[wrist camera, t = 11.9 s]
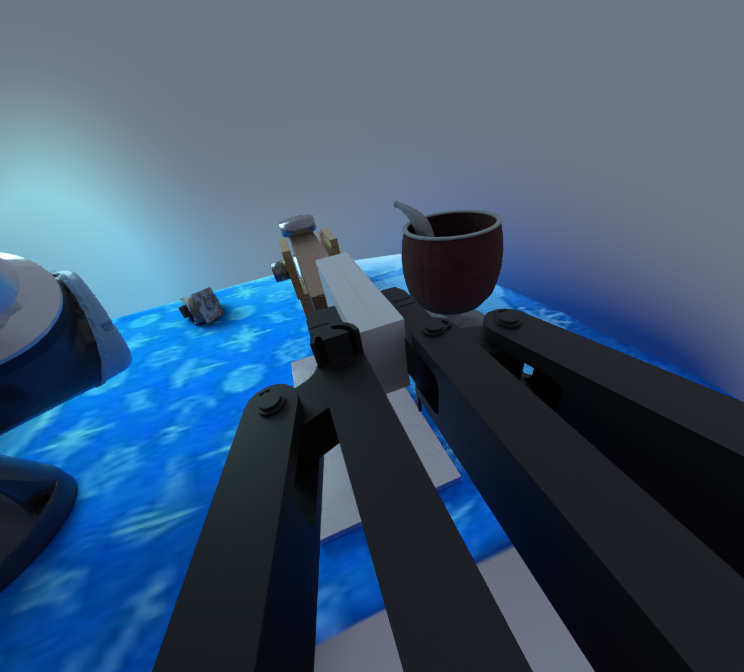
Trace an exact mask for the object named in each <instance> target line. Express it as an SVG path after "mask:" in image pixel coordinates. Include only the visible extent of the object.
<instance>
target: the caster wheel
mask: <svg viewBox="0 0 744 672" xmlns="http://www.w3.org/2000/svg"><path fill="white" fill-rule="evenodd" d="M180 300H181V301H182V302H184V303H185V304H186V305H183V306H181V307H179V310H180V312H181V313H182V315H183V317H184V318H188V317H191V316H193V318H194V324H198V323H201V322H204V321H206V322H207V323H210V322H212V321H213V320H215V319H217V318H218V317H220V316H222V315H223V314H224V311H223V309H222V308H221V306H220V303H219V300H218V298H217V297H216V295H214V293H213V291H212V289H211V288H210V287H209V288H207V289H204V290H202V291H199V292H197V293H194V294H192V295H191V296H188V297H184V298H181V299H180Z"/></svg>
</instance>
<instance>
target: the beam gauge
mask: <svg viewBox="0 0 744 672" xmlns="http://www.w3.org/2000/svg"><path fill="white" fill-rule="evenodd" d="M279 227H280V230H281V233H282V236H283V237H289V239H290V242H291V244H292V248H293V251H294V255H293V259H294V262H295V265H296V269H297V272H298V275H299V278H300V277H303V279H304V282H305V285H306V288H307V291H308V293H309V296H310V299H311V302H312V305H313V308H314V310H315V311H317V310H321V309H324V308H327V307H328V305H327V301H326V298H325V294H324V290H323V287H322V283H321V279H320V276H319V272H318V268H317V265H316V261H315V260H318V259H322V258H326V257H330V256H329V254H328V253H327V252H326V250H325V249H324V247H323V246H322V244H321V243H320V242H319V240H318V239H317V237H316V236H315V235H314V233H313V231H314V230H315V229H316V225H315V222H314V218H313V216H312V215H301V216H296V217H292V218H288V219H285V220H283V221H281V222H279ZM291 366H292V373H293V379H294V386H295V388H296V387H297V386H299V385H300V384H302V383H303V382H305V381H306V380H308V379H309V378H310V377H311V376H312V375H313V373H314V372H315V370H316V367H317V363H316V360H315V357H314V355H313V356H310V357H307V358H304V359H301V360H298V361H295V362H292V363H291ZM386 395H387V397H388V399H389V401H390V403H391V405H392V407H393V409H394V410H395V412H396V414H397V416H398V418H399V420H400V422H401V424H402V426H403V427H404V429H405V431H406V433H407V435H408V437H409V439H410V441H411V443H412V444H413V446H414V448H415V450H416V452H417V454H418V456H419V458H420V460H421V461H422V463H423V465H424V467H425V469H426V471H427V473H428V475H429V477H430V479H431V480H432V482H433V484H434V486H435V488H436V490H437V492H439V491H441V490H443V489H445V488H448V487H450V486H452V485H454V484H456V483H459V482H461V475H460V474H459V472H458V470H457V469H456V467H455V466H454V464H453V462H452V461H451V459H450V458H449V456H448V455H447V453H446V451H445V450H444V448H443V447H442V445H441V443H440V442H439V440H438V439H437V437H436V436H435V434H434V432H433V431H432V429H431V428H430V426H429V424H428V423H427V421H426V420H425V418H424V416H423V415H422V413H421V412H419V411H418V408H417V405H416V404H415V402H414V401H413V399H412V397H411V396H410V394H409V393H408V391H407V389H406V388H405V387H404V388H402V389H399V390H396V391H393V392H391V393H388V394H386ZM362 526H363V525H362V522H361V518H360V515H359V511H358V508H357V504H356V500H355V497H354V493H353V490H352V486H351V483H350V479H349V476H348V472H347V468H346V465H345V461H344V458H343V454H342V451H341V447H340V443H339V444H338V445H336V446H335V447H334V448H333V449H331V450H330V451H329V452H327V453H326V454H325V455H324V473H323V493H322V513H321V534H320V545H323V544H325V543H327V542H329V541H332V540H334V539H336V538H338V537H340V536H343V535H345V534H347V533H349V532H351V531H354V530H356V529H358V528H360V527H362Z"/></svg>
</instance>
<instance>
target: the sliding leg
mask: <svg viewBox="0 0 744 672" xmlns="http://www.w3.org/2000/svg"><path fill="white" fill-rule="evenodd" d="M321 233H322V237H323V241H324V245H325V249H326V252H327V253H328V254H329V256H334V255H338V254H340V250H339V245H338V242H337V238H336V237H335V236H334V235H333V234H332V233H331V232H330V230H328V228H325V229H321ZM279 243H280V248H281V252H282V255H283V258H284V260H282V261H278V262H274V263H271V267H272V271H273V274H274V276H275V279H276V281H277V282H281V281H284V280H288V279H291V281H292V284H293V286H294V289H295V292H296V295H297V298H298V300H299V299H300V301H301V304H302V307H303V309H304V312H305V315H306V318H308V315H309V313H310V312H314V311H315V310H314V308H313V305H312V302H311V299H310V296H309V293H308V291H307V288H306V285H305V282H304V279H303V277H300V278H299V277H298V274H297V271H296V268H295V265H294V262H293V259H292V256H291V253H290V250H289V247H288V244H287V241H286V238H284V239H280V240H279Z"/></svg>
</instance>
